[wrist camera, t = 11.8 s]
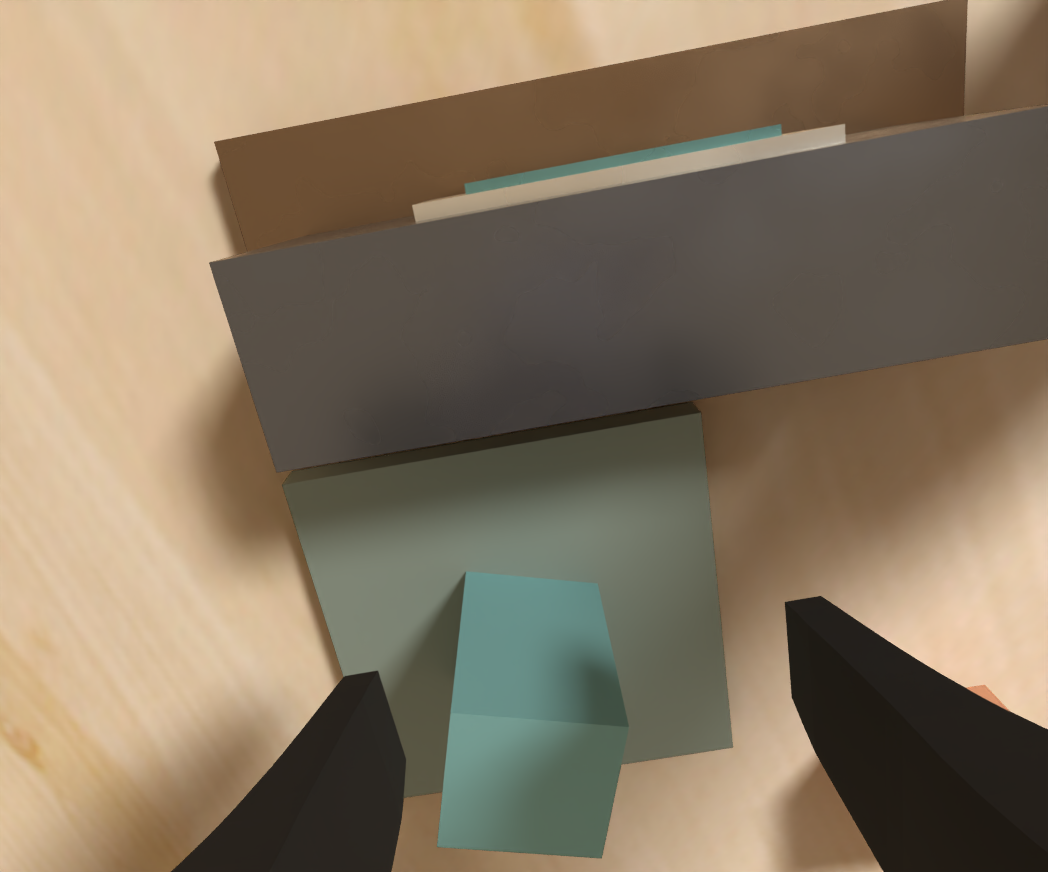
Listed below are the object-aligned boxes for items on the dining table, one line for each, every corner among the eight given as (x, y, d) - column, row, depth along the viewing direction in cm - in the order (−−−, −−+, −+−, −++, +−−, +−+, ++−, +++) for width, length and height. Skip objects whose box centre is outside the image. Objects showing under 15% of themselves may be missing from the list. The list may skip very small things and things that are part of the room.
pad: (692, 402, 21) (701, 412, 20) (724, 726, 25) (733, 747, 24) (291, 471, 21) (282, 484, 20) (388, 777, 25) (383, 800, 24)
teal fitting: (597, 583, 22) (628, 727, 16) (578, 690, 23) (601, 858, 17) (466, 571, 21) (450, 712, 16) (454, 680, 23) (437, 847, 17)
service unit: (942, 6, 17) (1208, -101, 11) (935, 326, 20) (1144, 398, 13) (229, 143, 18) (69, 123, 11) (315, 434, 21) (226, 552, 14)
